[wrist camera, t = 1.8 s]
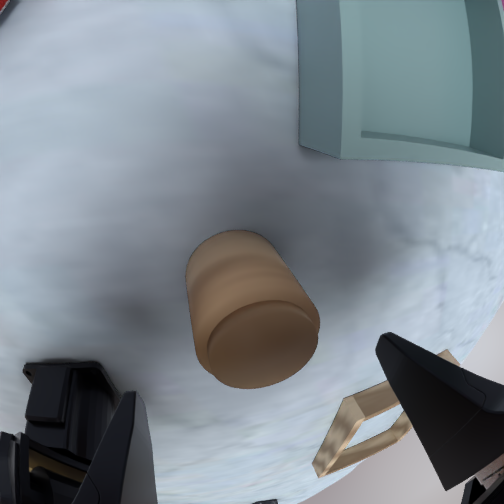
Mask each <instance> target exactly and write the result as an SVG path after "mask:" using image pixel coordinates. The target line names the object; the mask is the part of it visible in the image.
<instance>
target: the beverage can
mask: <svg viewBox="0 0 504 504" xmlns="http://www.w3.org/2000/svg"><path fill="white" fill-rule="evenodd" d="M9 2H10V0H0V15H1V13H2V12H3V11H4V9H5V8H6V6H7V5H8V3H9Z"/></svg>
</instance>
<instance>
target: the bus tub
mask: <svg viewBox="0 0 504 504" xmlns="http://www.w3.org/2000/svg"><path fill="white" fill-rule="evenodd" d="M296 2H297V23H298V51H299V145H302V146H305V147H308V148H311V149H313V150H316V151H319V152H322V153H325V154H327V155H330V156H333V157H335V158H338V159H348V160H388V161H408V162H423V163H435V164H446V165H455V166H464V167H472V168H480V169H487V170H494V171H500V172H504V10H503V5H502V1H501V0H296Z"/></svg>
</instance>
